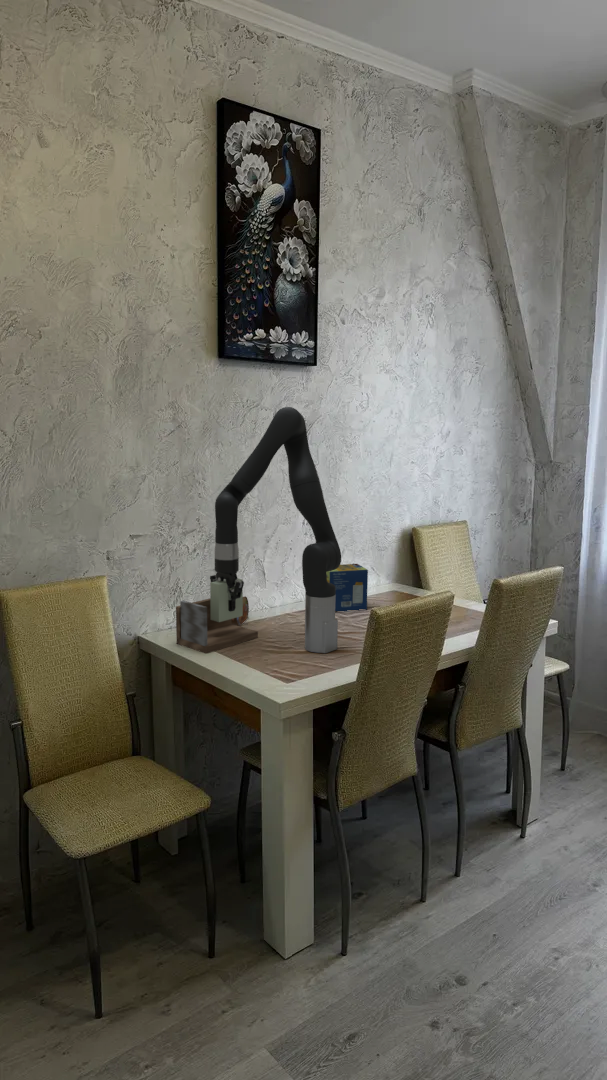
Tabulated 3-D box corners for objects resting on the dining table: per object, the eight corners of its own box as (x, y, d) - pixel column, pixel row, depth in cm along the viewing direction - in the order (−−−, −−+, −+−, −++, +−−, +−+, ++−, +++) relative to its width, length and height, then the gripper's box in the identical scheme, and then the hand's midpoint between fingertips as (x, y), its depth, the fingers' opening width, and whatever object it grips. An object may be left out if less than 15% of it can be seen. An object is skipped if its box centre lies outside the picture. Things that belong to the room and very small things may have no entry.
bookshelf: (257, 637, 242) (257, 595, 240) (206, 653, 226) (205, 608, 224) (228, 628, 252) (227, 588, 249) (176, 643, 235) (175, 600, 233)
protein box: (319, 605, 282) (319, 565, 280) (357, 603, 287) (358, 563, 284) (328, 613, 273) (328, 571, 270) (367, 610, 277) (368, 569, 274)
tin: (237, 629, 252) (237, 604, 250) (228, 628, 252) (228, 604, 251) (249, 617, 266) (249, 594, 265) (241, 616, 267) (241, 593, 266)
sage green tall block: (242, 615, 241) (242, 579, 238) (218, 622, 233) (218, 584, 231) (234, 613, 243) (234, 577, 241) (210, 619, 236) (210, 582, 234)
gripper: (251, 558, 233) (250, 611, 236) (220, 551, 242) (220, 603, 245) (233, 561, 227) (233, 616, 230) (202, 554, 237) (203, 607, 240)
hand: (226, 609), depth 238 cm, fingers closed on sage green tall block, 4 cm apart
